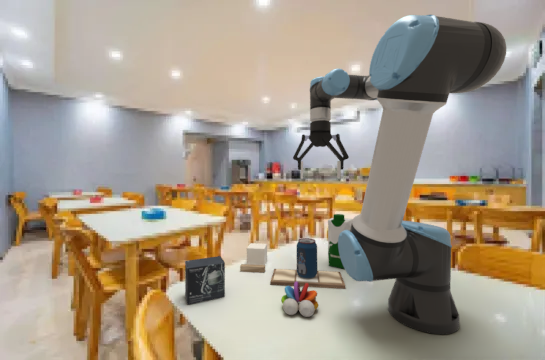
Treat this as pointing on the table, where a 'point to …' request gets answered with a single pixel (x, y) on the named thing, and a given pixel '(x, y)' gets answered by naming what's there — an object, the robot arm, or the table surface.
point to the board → (320, 280)
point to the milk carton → (336, 238)
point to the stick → (252, 268)
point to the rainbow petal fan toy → (299, 300)
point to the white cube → (257, 254)
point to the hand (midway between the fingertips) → (320, 178)
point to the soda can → (306, 258)
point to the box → (204, 279)
